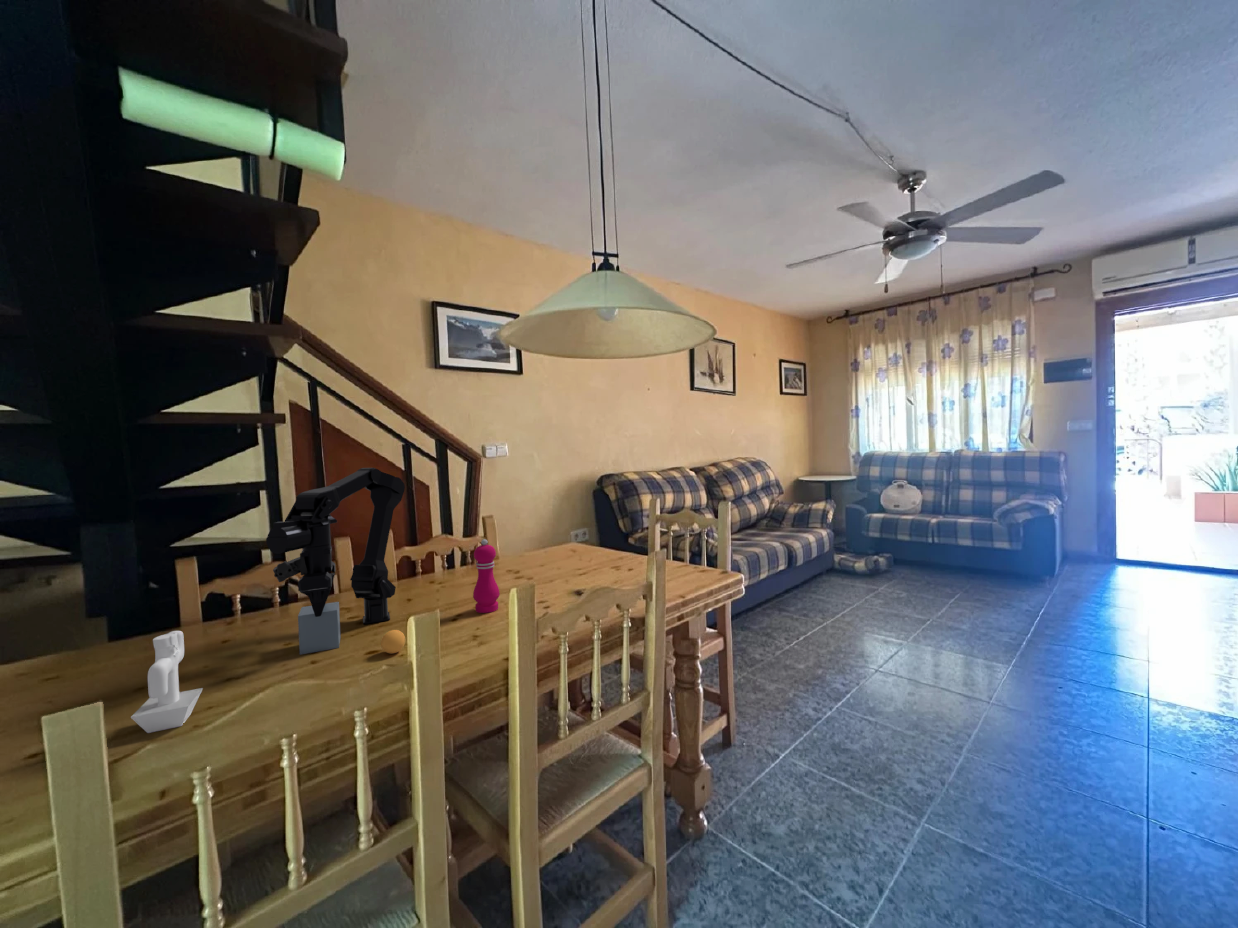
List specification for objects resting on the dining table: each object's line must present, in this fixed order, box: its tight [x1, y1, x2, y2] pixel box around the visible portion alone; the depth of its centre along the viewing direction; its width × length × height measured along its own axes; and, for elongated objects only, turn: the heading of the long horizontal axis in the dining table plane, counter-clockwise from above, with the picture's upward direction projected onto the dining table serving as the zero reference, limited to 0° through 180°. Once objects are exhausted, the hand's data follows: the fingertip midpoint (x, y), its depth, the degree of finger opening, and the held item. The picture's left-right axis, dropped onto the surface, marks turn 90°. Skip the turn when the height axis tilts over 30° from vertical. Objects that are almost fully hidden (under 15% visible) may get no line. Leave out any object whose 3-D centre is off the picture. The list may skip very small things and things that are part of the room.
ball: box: [380, 629, 406, 654], centre depth 111 cm, size 5×5×5 cm
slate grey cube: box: [297, 601, 341, 655], centre depth 116 cm, size 8×8×9 cm
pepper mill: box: [472, 538, 500, 614], centre depth 140 cm, size 7×7×20 cm
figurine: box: [130, 630, 204, 734], centre depth 83 cm, size 7×9×15 cm
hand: (319, 610), depth 117 cm, fingers open, 9 cm apart
